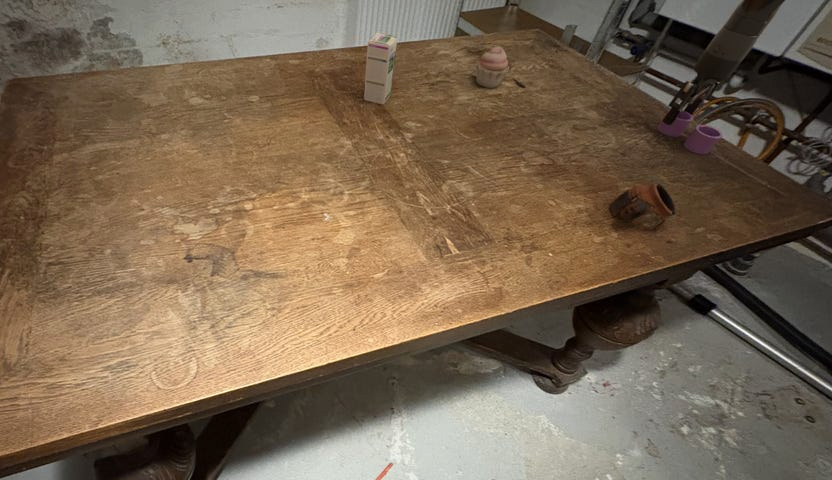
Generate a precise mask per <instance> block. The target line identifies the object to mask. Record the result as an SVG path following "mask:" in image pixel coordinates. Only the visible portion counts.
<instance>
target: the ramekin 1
mask: <svg viewBox="0 0 832 480" xmlns="http://www.w3.org/2000/svg"><path fill="white" fill-rule="evenodd" d="M670 109H671V108H669V109H668V110H667V112H666V113H665V114H664V115H663V117H662V119H661V120H660V122H659V123H658V124H657V126H656V129H657V130H658V132H660V133H661V134H663V135H664V136H667V137H671V138H679V137H681V136H682V134H683V133H684V132H685V131H686V129H687V128H688V127H689V126H690V124H691V123H692V122H693V120H694V115H691V114H690V113H688V112H686V111H684V109H683V110H682V111H681V113H680V114H679V115H678V117H677V118H676V120H675V121H674V122H673V124H671V125H667V124H665V123H663V119H664V118H665V116H666V115H667V113H668V112H669V111H670Z"/></svg>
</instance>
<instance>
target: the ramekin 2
mask: <svg viewBox="0 0 832 480" xmlns="http://www.w3.org/2000/svg"><path fill="white" fill-rule="evenodd" d="M722 138H723V133H722V132H721V131H720V130H719V129H717V128H716V127H713V126H710V125H707V124H706V125H705V124H698V125H696V126H695V127H694V128H693V129H692V131H691V133H690V134H688V136H687V138H686V139H685V140H684V142H683V146H684V148H685V149H686V150H688V151H690V152H692V153H694V154H697V155H707V154H709V153H710V152H711V151H712V150H713V148H714V147H715V146H716V145H717V144H718V143H719V141H720V140H721V139H722Z"/></svg>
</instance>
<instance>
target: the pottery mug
mask: <svg viewBox="0 0 832 480" xmlns="http://www.w3.org/2000/svg"><path fill="white" fill-rule="evenodd" d="M633 200H634V201H633ZM651 208H652V209H651ZM650 210H651V211H652V212H653V213H655V215H656V216H657V217H659V218H660V219H661V220H662V221H661V222H660V223H659V224H657V225H656V226H654V227H653V229H654V230H658V229H659V228H662V226H664V225H665V223H667V221H668V220H669V218H670V217H672V216H674V215H676V214H677V209H676V206H675V203H674V201H673V199H672V197H671V195H670V193H669V192H668V191H667V189H666V188H665V187H664V186H663V185H662V184H661V183H659V182H657V181H655V182H653V183H651V184H638V185H636V186H632V187H631V188H629V189H626V190H625V191H624V192H623V193H621V194H620V195H618V196H617V197H616V198H615V199H614V200H612V201H611V203H610V212H611V214H612V216H613V217H616V216H618V215H619V217H620V219H621V220H622V221H623V222H625V223H630V222H632V221H634V220H636V219H637V218H640V217H642V216H645V215H647V213H648V212H650Z"/></svg>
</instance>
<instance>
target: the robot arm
mask: <svg viewBox="0 0 832 480" xmlns="http://www.w3.org/2000/svg"><path fill="white" fill-rule="evenodd" d="M785 2H786V0H741V1H740V2H739V3H738V4H737V6H736V7H735V9H734V10H733V11H732V13H731V14H730V16H729V17H728V19H727V20H726V22H725V23H724V24H723V26H722V27H721V28H720V30H718V31H717V33H716V34H715V35H714V37H713V38H712V39H711V41H710V42H709V44H708V45H707V47H705V49H704V51H703V53H702V54H701V56H700V57H699V58H698V59H697V61H696V63H695V64H694V66H693V71H694V72H695V73H696V76H695V77H694V79H693V78H692V80H690V81H688V80H686V81H685V82H684V83H683V84H682V86H681V87H680V88H679V90H678V91H677V93H675V96H674V97H673V98H672V100H671V101H670V102H669V103H668V107H669V109H670V111H669V112H668V111H667V112H668V113H667V112H666V113H667V115H666V114H665V115H666V116H665V115H664V116H665V118H664V119H663V118H662V119H663V123H665V124H667V125H671V124H673V122H674V121H675V120H676V118H677V117H678V115H679V114H680V113H681V111H682V110H683V111H686V112H688V113H690V114H691V115H692V116H694V114H695V112H696V111H697V110H698V108H699V107H700V106H701V105H702V104H703V103H705V101H706V100H707V101H708V100H709V99H710V98H711V97H712V96H713V95H714V93H715V92H716V91H717V89H718V88H719V86H721V84H722V82H723V81H725V80H728V79H729V78H730V77H731V76H732V74H733V73H734V72H735V71H736V69H737V68H738V67H739V65H740V64H741V63H742V62H743V61H744V59H745V58H746V57H747V55H748V54H749V53H750V51H751V50H752V49H753V48H754V46H755V44H756V43H757V41H758V39H759V38H760V36H761V35H762V34H763V32H764V31H765V30H766V29H767V28H768V26H769V25H770V24H771V22H772V21H773V19H774V18H775V17H776V15H777V13H778V12H779V10H780V8H781V6H782V5H784V4H785Z"/></svg>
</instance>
